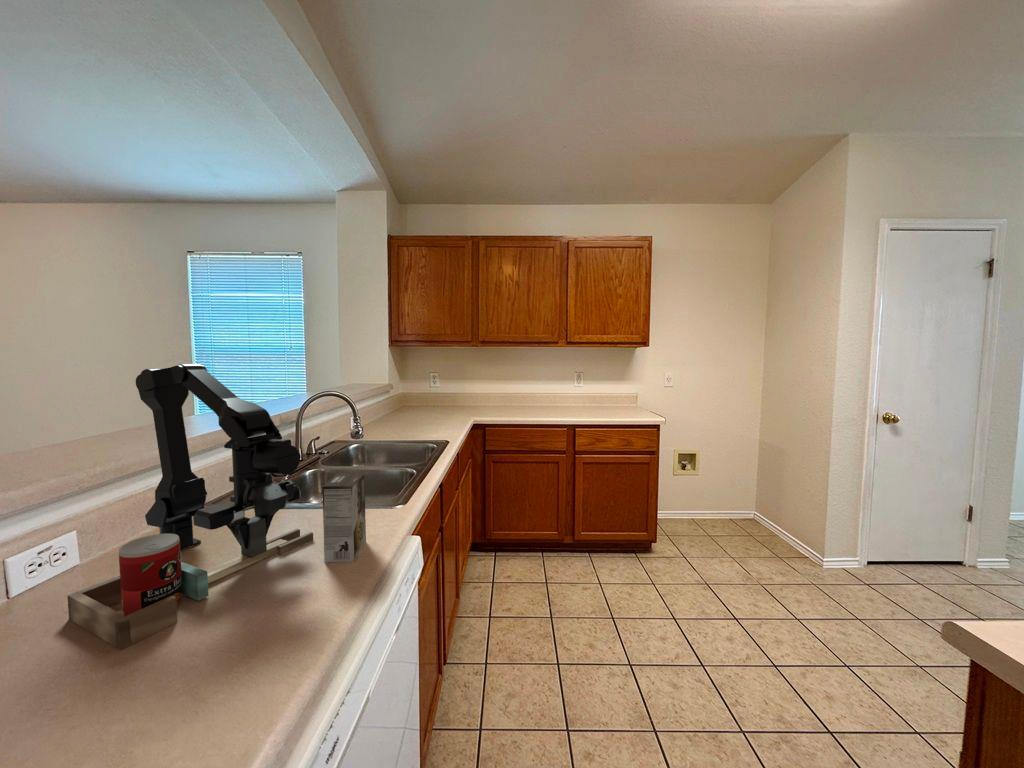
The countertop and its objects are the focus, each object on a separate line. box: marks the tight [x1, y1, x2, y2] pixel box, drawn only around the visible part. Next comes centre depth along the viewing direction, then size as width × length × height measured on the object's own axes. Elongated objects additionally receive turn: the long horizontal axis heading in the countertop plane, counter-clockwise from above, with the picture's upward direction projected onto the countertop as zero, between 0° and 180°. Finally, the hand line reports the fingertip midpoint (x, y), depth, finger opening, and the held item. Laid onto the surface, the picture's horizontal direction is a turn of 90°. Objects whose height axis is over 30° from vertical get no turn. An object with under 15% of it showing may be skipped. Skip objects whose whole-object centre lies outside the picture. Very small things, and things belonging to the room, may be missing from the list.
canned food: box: [118, 533, 183, 616], centre depth 69 cm, size 8×8×11 cm
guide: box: [266, 528, 314, 556], centre depth 92 cm, size 5×8×2 cm
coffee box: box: [321, 473, 367, 563], centre depth 88 cm, size 9×6×16 cm
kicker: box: [181, 515, 288, 602], centre depth 82 cm, size 11×20×8 cm, turn 155°
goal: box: [66, 575, 178, 651], centre depth 65 cm, size 16×7×4 cm, turn 65°
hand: (253, 544), depth 85 cm, fingers open, 3 cm apart
